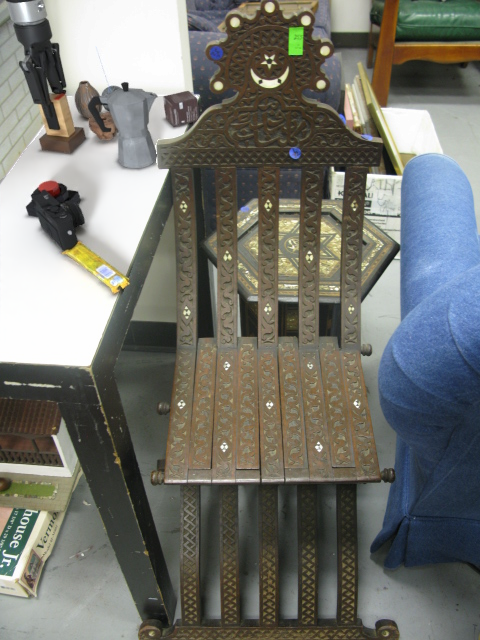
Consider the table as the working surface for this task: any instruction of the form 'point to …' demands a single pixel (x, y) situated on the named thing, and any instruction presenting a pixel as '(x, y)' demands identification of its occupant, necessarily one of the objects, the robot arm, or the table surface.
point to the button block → (57, 198)
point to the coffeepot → (129, 124)
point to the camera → (58, 218)
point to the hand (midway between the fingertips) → (59, 124)
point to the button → (50, 187)
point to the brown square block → (63, 141)
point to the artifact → (108, 124)
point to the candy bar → (97, 266)
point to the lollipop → (109, 91)
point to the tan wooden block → (60, 116)
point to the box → (181, 108)
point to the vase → (85, 98)
